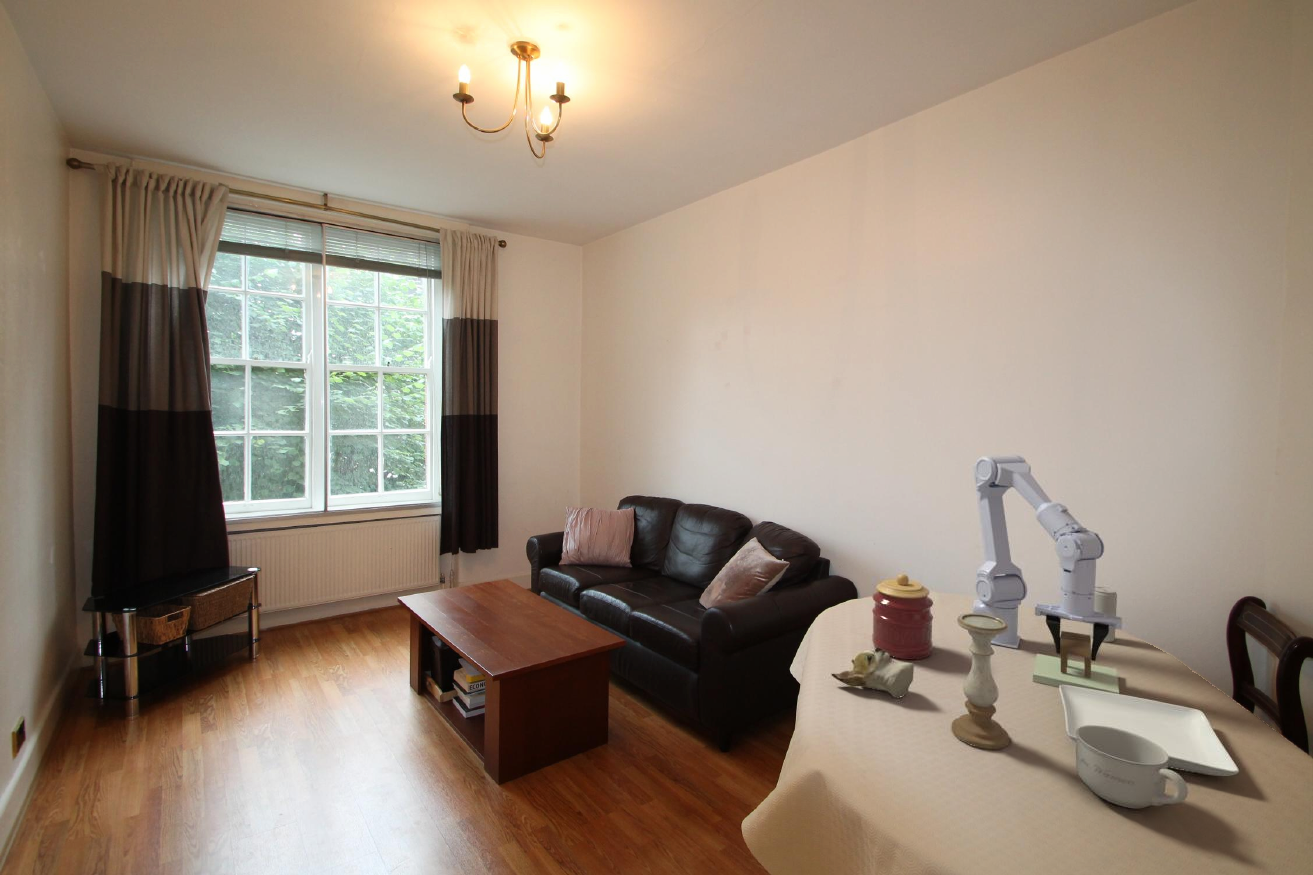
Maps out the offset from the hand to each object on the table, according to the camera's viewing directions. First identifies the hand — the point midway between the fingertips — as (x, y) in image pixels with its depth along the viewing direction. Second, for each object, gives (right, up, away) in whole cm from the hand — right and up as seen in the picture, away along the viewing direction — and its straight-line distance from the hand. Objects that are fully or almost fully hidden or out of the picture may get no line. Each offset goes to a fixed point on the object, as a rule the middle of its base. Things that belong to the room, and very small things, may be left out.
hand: (1075, 655), depth 125 cm
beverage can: (+20, -4, +20) cm, 29 cm away
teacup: (-18, -8, -37) cm, 42 cm away
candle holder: (-30, -7, -20) cm, 37 cm away
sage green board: (0, -5, 0) cm, 5 cm away
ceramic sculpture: (-42, -6, -2) cm, 42 cm away
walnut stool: (0, -3, 0) cm, 3 cm away
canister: (-29, -5, +16) cm, 34 cm away
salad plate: (-4, -7, -21) cm, 23 cm away
